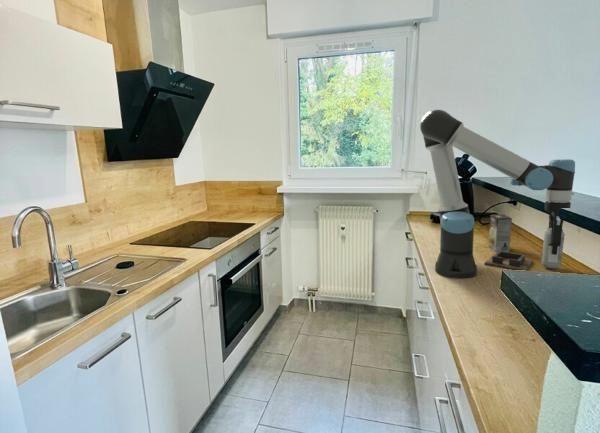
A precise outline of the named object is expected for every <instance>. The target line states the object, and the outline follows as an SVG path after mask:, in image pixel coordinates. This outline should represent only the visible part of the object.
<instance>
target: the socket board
mask: <svg viewBox="0 0 600 433" xmlns="http://www.w3.org/2000/svg"><path fill="white" fill-rule="evenodd" d="M526 255H527V254H522V253H518V252H516V253H515V252H510V251H509V252H504V251H498V252H496V253H494V254H493V255H492V256H491V257H490V258H488V259H487V260H486V261H484V263H483V264H484V266H489V267H493V268H494V267H495V268H499V269H503V270H509V269H511V270H510V271H515V270H526V271H527V270H528V269H529V267H530V266H531V265H532V264H533V261H534V260H533V259H529V258H528V259H527V258H526Z"/></svg>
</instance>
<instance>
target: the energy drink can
mask: <svg viewBox="0 0 600 433" xmlns="http://www.w3.org/2000/svg"><path fill="white" fill-rule="evenodd" d="M551 233H552V228H549V227H547V228H546V230H545V231H544V235H543V246H542V255H541V262H540V263H541V264H542V266H543V267H545V268H548V269H559V268H560V267H561V265H562V260H563V250H564V245H565V244H564V242H565V235H566V234H565V233H564V230H563V228H562V234H561V245H560V246H559V253H558V261H557V263H556V262H548V258H549V249H550V246H548V244H551ZM556 243H557V242H556Z"/></svg>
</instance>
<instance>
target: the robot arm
mask: <svg viewBox="0 0 600 433" xmlns="http://www.w3.org/2000/svg"><path fill="white" fill-rule="evenodd" d="M419 129H420V132H421V134H422V136H423V142H424V147H425V149H426V150H427V151H429V152H430V155H431V161H432V167H433V171H434V176H435V180H436V185H437V190H438V196H439V201H440V207H439V208H438V209H437V211H438V214H439V220H440V222H439V223H440V238H439V239H440V241H439V242H440V246H439V247H440V248H439V250H440V252H439V254H438V257H437V261H436V262H435V265H434V266H435V267H434V270H435V272H436V273H437V274H439V275H440V276H444V277H448V278H453V279H470V278H471V279H472V278H474V277H476V276H477V274H478V266H477V265H476V262H475V261H476V260H475V258H474V235H475V233H474V232H475V223H476V222H475V218H474V215H472V214H471V213H470V210H469V205H468V203H466V202H465V201H464V199H463V194H462V190H461V183H460V179H459V174H458V169H457V164H456V159H455V152H454V149H455V148H456V149H457V150H459V151H461V152H462V153H465V154H466V155H468V156H470V157H472V158H473V159H476V160H478V161H479V162H481V163H483V164H485V165H487V166H488V167H490V168H492V169H494V170H496V171H498V172H500V173H501V174H503V175H505V176H507V177H509V183H510V185H511V186H519V187H521V186H524V187H526V188H528V189H530V190H532V191H544V190H545V191H546V192H545V198H544V199H545V200H546V201H544V211H545V212H549V213H550V214H551V215H550V214H549V215H548V220H549V221H548V228H552V233H551V244H548V246H550V249H549V258H548V262H556V263H557V261H558V253H559V246H560V245H561V234H562V229H563V224H564V220H562V219H561V218H560V217H559V211H560V209H561V208H570V209H571V205H572V203H571V201H572V196H573V195H575V193H574V192H573V186H574V180H575V173H576V162H575V160H574V159H571V158H570V159H565V158H564V159H562V158H561V159H551V160H549V163H548V164H546V165H537V164H535V163H533V162H532V161H530V160H527V159H526V158H524V157H522V156H520V155H518V154H517V153H515V152H513V151H511V150H508V149H507V148H505V147H504V146H501V145H499V144H497V143H496V142H494V141H492V140H490V139H488V138H486V137H484V136H482V135H480V134H478V133H476V132H474V131H473V130H471V129H469V128H467V127H465V125H464V122H463V121H460V120H458V119H457V118H455V117H454V116H452V115H451V114H450V113H448V111H446V110H444V109H434V110H430V111H428V112H426V114H425V115H424V116H422V118H421V120H420V127H419ZM556 242H557V243H556Z"/></svg>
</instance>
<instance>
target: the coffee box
mask: <svg viewBox="0 0 600 433" xmlns="http://www.w3.org/2000/svg"><path fill="white" fill-rule="evenodd" d="M512 220H513V218H512V217H510V216H509V215H506V214H490V215H489V234H488V247H489V248H490V249H491V250H493V252H496V253H497V252H498V251H504V252H510V248H511V236H512V235H511V234H512V233H511V232H512V222H513V221H512Z"/></svg>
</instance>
